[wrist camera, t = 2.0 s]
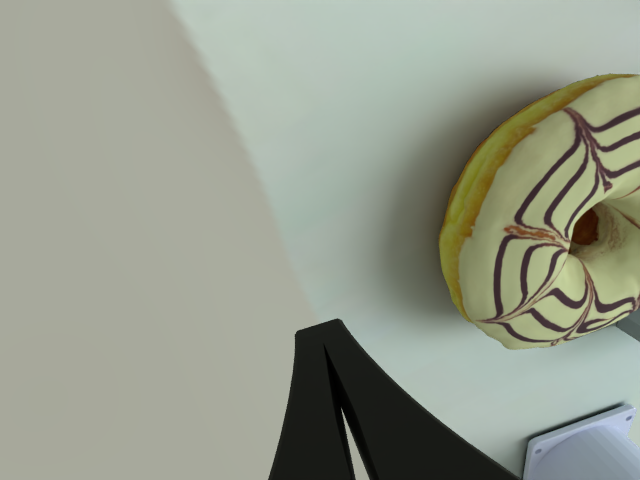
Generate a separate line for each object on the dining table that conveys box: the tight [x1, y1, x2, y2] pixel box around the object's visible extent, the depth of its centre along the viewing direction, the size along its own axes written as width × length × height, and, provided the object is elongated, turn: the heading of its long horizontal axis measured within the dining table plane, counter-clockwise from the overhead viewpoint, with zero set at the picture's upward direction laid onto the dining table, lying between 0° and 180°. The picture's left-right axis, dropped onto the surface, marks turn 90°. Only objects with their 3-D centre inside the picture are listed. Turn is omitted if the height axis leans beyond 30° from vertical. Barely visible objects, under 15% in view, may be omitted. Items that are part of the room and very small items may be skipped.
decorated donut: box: [438, 74, 640, 350], centre depth 13 cm, size 10×11×4 cm
